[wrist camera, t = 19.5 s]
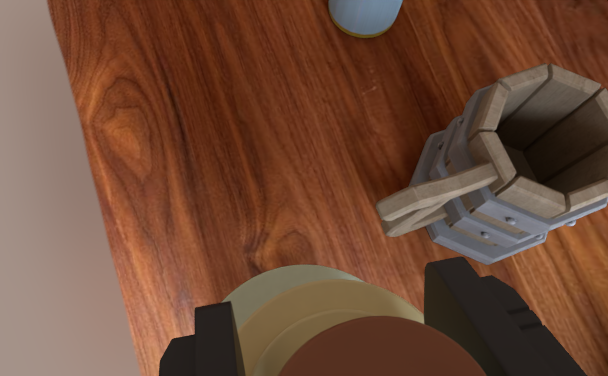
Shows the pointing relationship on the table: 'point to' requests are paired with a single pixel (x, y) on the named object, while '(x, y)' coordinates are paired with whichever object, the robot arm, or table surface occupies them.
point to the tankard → (509, 166)
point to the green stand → (276, 286)
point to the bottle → (364, 16)
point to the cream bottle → (347, 335)
